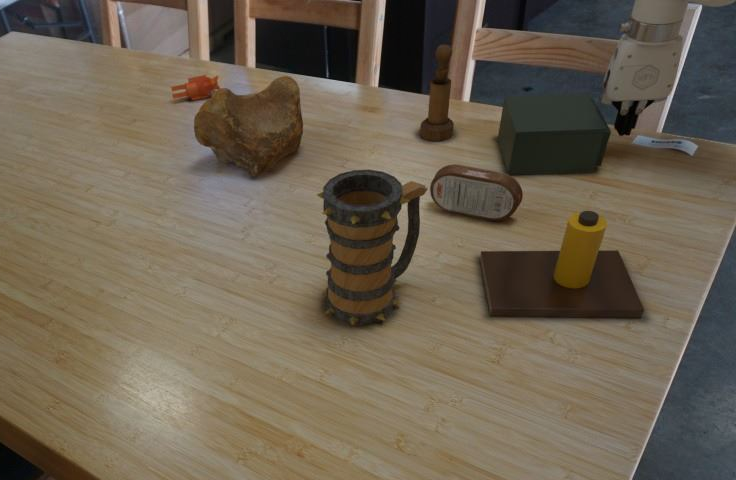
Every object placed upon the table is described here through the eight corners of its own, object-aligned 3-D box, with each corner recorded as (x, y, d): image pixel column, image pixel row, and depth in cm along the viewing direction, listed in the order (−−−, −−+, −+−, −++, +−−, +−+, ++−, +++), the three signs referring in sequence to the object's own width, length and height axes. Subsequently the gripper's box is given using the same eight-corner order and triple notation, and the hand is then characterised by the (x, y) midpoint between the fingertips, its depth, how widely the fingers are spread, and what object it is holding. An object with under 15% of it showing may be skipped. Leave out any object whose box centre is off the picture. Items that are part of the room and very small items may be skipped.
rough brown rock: (222, 199, 132) (218, 130, 121) (191, 158, 143) (184, 92, 132) (326, 167, 138) (330, 98, 127) (289, 131, 148) (290, 64, 137)
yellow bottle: (585, 268, 101) (604, 205, 93) (592, 288, 97) (612, 225, 90) (550, 268, 102) (566, 206, 94) (556, 288, 98) (574, 225, 91)
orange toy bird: (170, 82, 162) (219, 72, 162) (168, 81, 168) (215, 72, 169) (175, 104, 164) (222, 94, 164) (172, 102, 170) (218, 92, 171)
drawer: (591, 131, 130) (600, 97, 126) (608, 166, 121) (618, 131, 116) (510, 134, 133) (516, 101, 129) (521, 168, 124) (528, 134, 119)
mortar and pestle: (431, 124, 142) (439, 36, 130) (458, 131, 139) (469, 42, 126) (413, 136, 139) (419, 48, 127) (440, 144, 136) (450, 54, 123)
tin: (518, 218, 114) (527, 174, 109) (513, 227, 113) (522, 183, 107) (432, 201, 121) (436, 158, 116) (425, 210, 120) (430, 167, 114)
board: (615, 258, 104) (618, 250, 103) (641, 318, 94) (644, 309, 93) (479, 258, 108) (480, 251, 107) (490, 316, 98) (491, 308, 97)
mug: (302, 296, 106) (296, 185, 93) (391, 258, 111) (398, 146, 97) (348, 342, 97) (349, 227, 84) (443, 299, 102) (459, 183, 88)
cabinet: (576, 135, 132) (586, 92, 126) (593, 172, 121) (605, 128, 116) (497, 138, 135) (504, 96, 129) (507, 175, 124) (515, 131, 119)
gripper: (609, 40, 109) (582, 144, 122) (712, 33, 106) (674, 140, 119) (598, 23, 115) (573, 125, 127) (696, 16, 112) (661, 121, 124)
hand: (622, 132), depth 123 cm, fingers closed
